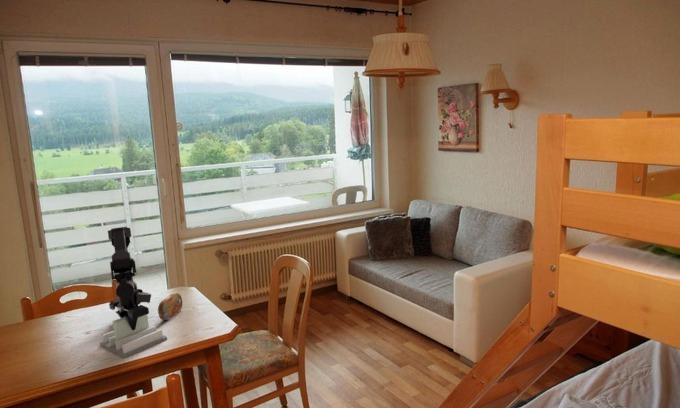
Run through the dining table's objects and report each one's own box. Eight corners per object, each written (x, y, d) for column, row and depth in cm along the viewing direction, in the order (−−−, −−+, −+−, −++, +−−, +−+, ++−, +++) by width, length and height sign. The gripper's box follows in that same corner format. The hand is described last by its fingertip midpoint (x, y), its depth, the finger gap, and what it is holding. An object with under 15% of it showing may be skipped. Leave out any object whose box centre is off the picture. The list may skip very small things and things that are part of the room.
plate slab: (115, 341, 175) (112, 321, 174) (146, 329, 184) (143, 309, 183) (118, 343, 174) (115, 322, 172) (149, 330, 183) (146, 311, 181)
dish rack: (100, 345, 178) (98, 335, 178) (142, 328, 191) (141, 318, 191) (123, 358, 167) (121, 347, 166) (167, 339, 180) (165, 329, 179)
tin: (165, 323, 195) (162, 304, 193) (158, 323, 195) (155, 304, 194) (183, 308, 209) (181, 290, 208) (177, 308, 210) (175, 290, 208)
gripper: (159, 287, 176) (164, 326, 179) (134, 278, 187) (139, 315, 190) (130, 297, 167) (136, 338, 170) (105, 287, 179) (112, 326, 182)
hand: (131, 329), depth 178 cm, fingers closed on plate slab, 2 cm apart
